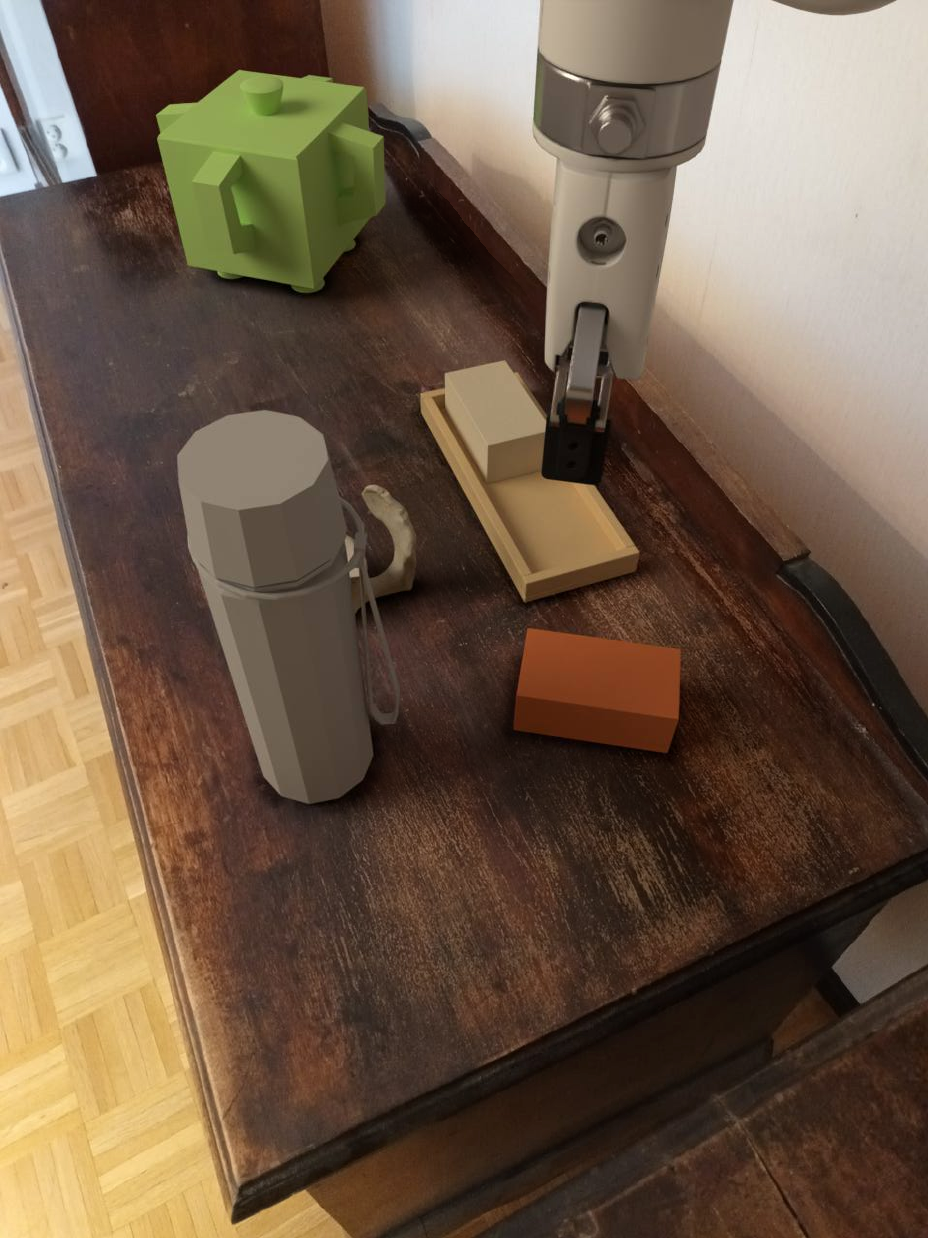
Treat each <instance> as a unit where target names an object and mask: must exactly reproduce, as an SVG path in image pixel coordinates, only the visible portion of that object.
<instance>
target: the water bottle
mask: <svg viewBox="0 0 928 1238" xmlns="http://www.w3.org/2000/svg"><path fill="white" fill-rule="evenodd" d="M176 460H177V461H176V462H177V463H176V464H177V479H178V486H179V492H180V499H181V503H182V509H183V516H184V520H185V527H186V531H187V548H188V551H189V554H190V557H191V560H192V562H193V563H194V564H195V566H196V569H197V571H198V575H199V579H200V582H201V585H202V588H203V591H204V594H205V598H206V601H207V604H208V607H209V610H210V613H211V616H212V619H213V623H214V626H215V629H216V633H217V635H218V639H219V641H220V646H221V647H222V651H223V653H224V654H223V655H224V658H225V660H226V664H227V667H228V670H229V672H230V676H231V679H232V683H233V685H234V688H235V692H236V695H237V697H238V701H239V705H240V707H241V711H242V714H243V716H244V720H245V723H246V726H247V729H248V732H249V735H250V738H251V742H252V746H253V748H254V751H255V754H256V757H257V760H258V764H259V767H260V770H261V774H262V777H263V778H264V779H265V780H266V781H267V782H268V783H269V784H270V786H271V787H272V788H273V789H274V790H275V791H276V792H277V793H278V795H280V797H283V798H287V799H290V800H294V801H297V802H299V803H300V802H301V803H304V804H308V805H311V804H312V805H313V804H316V803H321V802H325V801H330V800H331V801H332V800H336V799H340V798H341V797H343V796H344V795H345V794H346V793H348V792H349V791H350V790H352V789H353V788H354V787H356V786H357V785H358V784H360V783H361V782H362V781H363V780H365V779H364V778H365V776H366V774H367V772H368V769H369V766H370V765H371V762H372V760H373V758H374V748H373V741H372V734H371V725H370V718H369V717H370V716H369V713H370V715H371V716H372V717H373V719H374V721H376V722H377V723H379V724H380V725H395V724H396V722H397V719H398V717H399V711H400V694H401V688H400V687H401V686H400V683H399V681H398V676H397V673H396V669H395V666H394V663H393V660H392V656H391V653H390V652H391V651H390V647H389V644H388V641H387V638H386V637H387V636H386V634H385V631H384V627H383V624H382V620H381V616H380V612H379V609H378V606H377V601H376V598H374V594H373V591H372V587H371V583H370V580H369V578H370V576H369V573H368V569H366V566H365V562H364V557H365V558H366V550H367V549H366V548H367V543H368V542H367V540H368V536H369V535H368V534H369V533H367V532H365V523H364V521H363V520H362V519H361V517H360V516H359V514H358V513H357V511H356V510H355V508H354V506H353V505H352V504H351V503H349V502H348V501H347V500H345V499H344V498H342V497H341V496H340V494H339V490H338V487H337V482H336V479H335V474H334V471H333V468H332V464H331V460H330V455H329V452H328V449H327V444H326V441H325V437H324V434H323V433H322V432H320V431H319V430H317V429H316V428H315V427H314V426H312V425H311V424H310V423H309V422H307V421H306V420H304V418H302V417H301V416H297V415H293V414H287V413H282V412H277V411H272V410H267V409H262V410H256V411H255V410H254V411H249V412H241V413H233V414H227V415H225V416H223V417H221V418H219V419H217V420H215V421H214V422H211V423H210V424H207V425H205V426H203V427H202V428H199V429H198V430H195V431H194V433H193V434H192V435H191V437H190V438H189V439H188V440H187V442H186V443H185V444H184V446H183V447H182V448H181V450H180V451H179V452H178V454H177V455H176ZM343 509H344V510H345V512H346V513H347V514H348V515H349V516H350V518H351V520H352V521H353V523H354V525H355V530H356V532H355V534H354V540H355V541H354V547H353V548H354V554H353V556H352V557H351V559H350V560H349V562H348V558H347V551H346V545H345V539H346V535H347V533H346V532H347V531H348V529H347V524H346V519H345V516H344V511H343ZM354 568H359V581H360V596H361V607H360V608H361V609H360V611H361V623H362V639H363V652H364V654H363V655H364V666H365V668H364V669H365V680H366V689H365V680H364V673H363V665H362V658H361V657H362V656H361V651H360V650H361V649H360V643H359V642H360V641H359V635H358V628H357V620H356V613H355V611H354V604H353V596H352V589H351V581H350V574H349V572H350V571H351V570H353V569H354ZM363 579H364V582H365V586H366V590H367V593H368V597H369V601H368V602H369V604H370V608H371V611H372V615H373V619H374V622H375V626H376V630H377V633H378V637H379V641H380V644H381V648H382V652H383V655H384V660H385V662H386V666H387V670H388V675H389V677H390V682H391V686H392V688H393V692H394V695H395V700H396V701H395V706H394V709H393V712H385V713H382V712H381V711H380V710H379V708H378V707H377V705H376V704H375V703H374V694H373V693H374V692H373V681H372V669H371V658H370V657H371V655H370V644H369V634H368V622H367V621H368V620H367V610H366V609H367V608H366V603H365V596H364V584H363ZM366 694H367V695H366ZM368 709H369V711H368Z"/></svg>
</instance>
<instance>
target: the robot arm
mask: <svg viewBox="0 0 928 1238" xmlns="http://www.w3.org/2000/svg"><path fill="white" fill-rule="evenodd" d="M734 1H735V0H539V17H538V19H539V20H538V33H537V52H536V65H535V66H536V67H535V82H534V83H535V84H534V99H533V100H534V101H533V117H532V136H533V138H534V140H535V143H536V144H537V145H538V146H539V148H541V149H542V150H544V151H545V152H546V153H548V154H549V155H551V156H553V157H554V158H556V161H555V163H556V164H555V176H554V187H553V196H552V197H553V199H552V209H551V211H552V212H551V225H550V235H549V237H550V238H549V252H548V266H547V267H548V268H547V283H546V284H547V285H546V303H545V304H546V307H545V333H544V363H545V364H546V366H547V367H548V368H549V369H550V371H552V372H553V373H555V380H554V387H553V394H552V401H551V409H550V411H547V413H546V415H547V418H546V428H545V439H544V449H543V460H542V471H541V474H542V476H543V477H544V478H545V479H549V480H557V481H565V482H572V483H580V484H588V485H594V486H599V485H600V484H601V483H602V482H603V481H602V479H603V474H604V473H603V472H604V469H605V468H604V467H605V461H606V456H607V449H608V443H609V437H610V431H611V424H612V419H609V418H608V412H609V404H610V398H611V391H612V384H613V378H614V376H616V379H617V380H628V382H635V381H637V380H638V379H639V378H640V377H641V376H642V375H643V373H644V369H645V363H646V358H647V352H648V345H649V339H650V333H651V327H652V322H653V316H654V311H655V305H656V300H657V294H658V288H659V283H660V279H661V278H660V277H661V273H662V266H663V261H664V255H665V250H666V244H667V238H668V233H669V227H670V221H671V214H672V207H673V202H674V194H675V185H676V180H677V179H676V177H677V170H678V166H681V165H683V164H685V163H688V162H690V161H691V160H693V159H694V158H696V156H698V155H699V154H700V153H702V151H703V149H704V147H705V145H706V141H707V135H708V129H709V126H710V121H711V117H712V112H713V111H712V110H713V105H714V100H715V95H716V91H717V86H718V81H719V77H720V71H721V66H722V61H723V59H722V58H723V55H724V50H725V46H726V40H727V35H728V30H729V26H730V21H731V16H732V11H733V5H734ZM771 1H772V2H775V3H778V4H780V5H783V6H786V7H789V8H792V9H795V10H798V11H803V12H807V13H810V14H811V13H812V14H817V15H824V16H825V15H826V16H848V15H849V16H851V15H858V14H863V13H864V14H865V13H869V12H871V11H872V12H873V11H875V10H879V9H881V8H884V7H886V6H888V5H891V4H893V3H895V2H896V1H897V0H771ZM597 379H601V382H600V390H599V396H598V399H594V394H595V387H596V380H597Z"/></svg>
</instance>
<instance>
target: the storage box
mask: <svg viewBox="0 0 928 1238" xmlns="http://www.w3.org/2000/svg"><path fill="white" fill-rule="evenodd" d="M333 79H334V78H333V77H327V76H319V75H311V74H308V75H306V76H303V77H293V76H288V75H279V74H270V73H264V72H256V71H250V70H249V71H248V70H242V69H239V70H237V71H236V72H234V73H233V74H232V75H230V76H229V77H228V78H227V79H226V80H224V81H223V82H222V83H220V84H218V86H217V87H215V88H214V89H213V90H211V91H210V92H209V93H208V94H207V95H205V96H204V97H203V98H202V99H200V100H199V101H198V102H190V103H189V102H187V103H172V104H168V105H167V106H166V107H164V108H163V109H162V110H161V111H159V112H158V113H157V114H155V118H156V121H157V124H158V128H159V132H160V133H159V134H158V136H157V138H156V140H157V144H158V148H159V152H160V153H159V154H160V156H161V160H162V164H163V165H162V166H163V169H164V172H165V178H166V181H167V185H168V189H169V194H170V197H171V201H172V206H173V211H174V214H175V218H176V219H175V220H176V222H177V226H178V230H179V235H180V239H181V244H182V248H183V251H184V255H185V259H186V264H187V266H189V267H193V268H199V269H204V270H211V271H216V272H217V275H218V276H219V277H221V278H223V279H228V280H235V279H241V278H243V277H249V278H254V279H259V280H264V281H265V280H266V281H269V282H277V283H281V284H286V285H290V286H291V287H290V288H292V290H294V291H296V292H298V293H302V294H310V293H311V294H312V293H314V292H318V291H320V290H322V289H323V287H325V283H326V282H325V279H324V277H325V276H326V275H327V273H329V271H330V270H331V269H332V267H333V266H334V265H335V263H336V262H337V261H338V260H339V258H340V257H342V255H343V254H344V253H346V252H349V251H351V250H353V249H354V248H356V247H355V246H356V241H355V238H356V237H357V236H358V234H359V233H360V232H361V231H362V230H363V228H364V227H365V226H366V225H367V223H368V222H369V220H370V219H371V218H373V217H376V216H377V215H378V214H379V213H380V211H381V210H382V209H383V207H384V206H385V205H386V202H387V201H386V200H387V199H386V176H385V175H386V171H385V169H386V168H385V144H384V143H385V139H384V135H381V134H378V133H375V132H372V131H370V123H369V108H368V95H367V94H368V93H367V89H366V88H365V86H358V85H349V84H343V83H336V82H334V80H333Z"/></svg>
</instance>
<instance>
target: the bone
mask: <svg viewBox="0 0 928 1238" xmlns="http://www.w3.org/2000/svg"><path fill="white" fill-rule="evenodd" d="M361 496H362V499H363V500H364V502H365V504H366V506H367V508H368V510H369V511H370V512H371V514H372V515H373V516H374V517H375V518H376V519H377V520H379V521H380V522H382V523H383V525H385V527H386V528H387V529H388V532H389V533H390V535H391V538H392V541H393V546H394V555H393V559H392V562H391V563H390V565H389V566H388V568H387V569H386V570H385V571H383V572H382V573H381V574H379V575H377V576H374V577H369V580H370V583H371V587H372V591H373V594H374V598H375V599H376V598H377V599H378V598H381V597H384V596H389V595H393V594H396V593H399V592H400V593H401V592H404V591H405V592H407V591H411V590H412V588H413V583H414V579H415V574H416V568H417V567H416V566H417V554H416V553H417V549H416V546H417V534H416V532H415V529H414V527H413V524H412V522H411V519H410V517H409V513H408V511H407V510H406V508H405V507H404V505H403V504H402V503H400V502H399V501H398V500H396V499H394V498H393V496H392V495H391V493H390V492H389V491H388V490H387V489H386V488H384V487H382V486H380V485H377V484H369V485H367V486H366V487H365V488H364V489H363V491H362V492H361ZM354 541H355V538H353V537H351V536H349V535H348V534H346V539H345V545H346V551H347V558H348V562H349V560H350V559H351V557H352V556H353V554H354V548H353V547H354ZM364 562H365V566H366V569H367V570H368V561H367V558H366V556H365V557H364ZM349 574H350V581H351V589H352V596H353V604H354V611H355V614H357V612H358V610H360V608H361V596H360V581H359V568H354V569H353V570H351V571H350V572H349ZM363 584H364V596H365V604H366V603H368V602H370V601H369V597H368V593H367V590H366V586H365V582H364V579H363Z"/></svg>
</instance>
